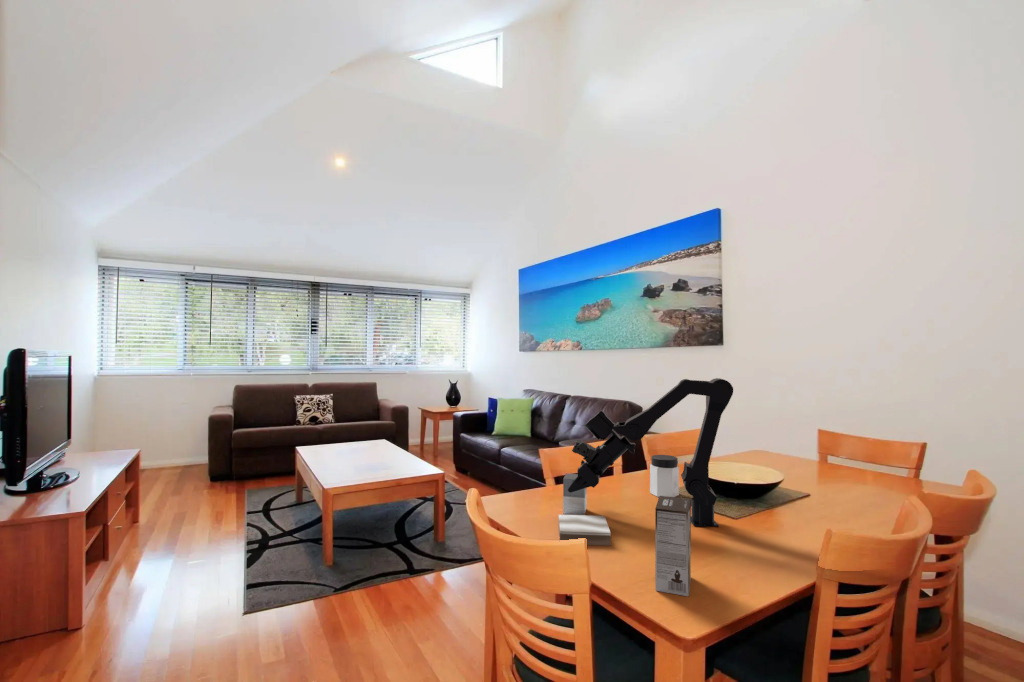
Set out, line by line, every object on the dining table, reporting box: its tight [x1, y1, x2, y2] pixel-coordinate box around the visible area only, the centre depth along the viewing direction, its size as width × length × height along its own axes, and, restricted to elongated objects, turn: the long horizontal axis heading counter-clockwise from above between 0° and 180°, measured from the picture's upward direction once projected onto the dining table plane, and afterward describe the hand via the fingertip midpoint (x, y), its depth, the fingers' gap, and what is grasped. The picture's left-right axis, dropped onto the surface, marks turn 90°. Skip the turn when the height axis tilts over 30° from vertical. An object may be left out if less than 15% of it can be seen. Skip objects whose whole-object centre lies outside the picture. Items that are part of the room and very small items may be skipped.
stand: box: [558, 513, 612, 547], centre depth 121 cm, size 12×12×3 cm
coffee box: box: [654, 496, 692, 597], centre depth 96 cm, size 9×6×16 cm
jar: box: [649, 454, 680, 498], centre depth 157 cm, size 9×8×12 cm
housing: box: [562, 473, 588, 515], centre depth 140 cm, size 6×6×10 cm
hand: (570, 488), depth 140 cm, fingers closed on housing, 6 cm apart
